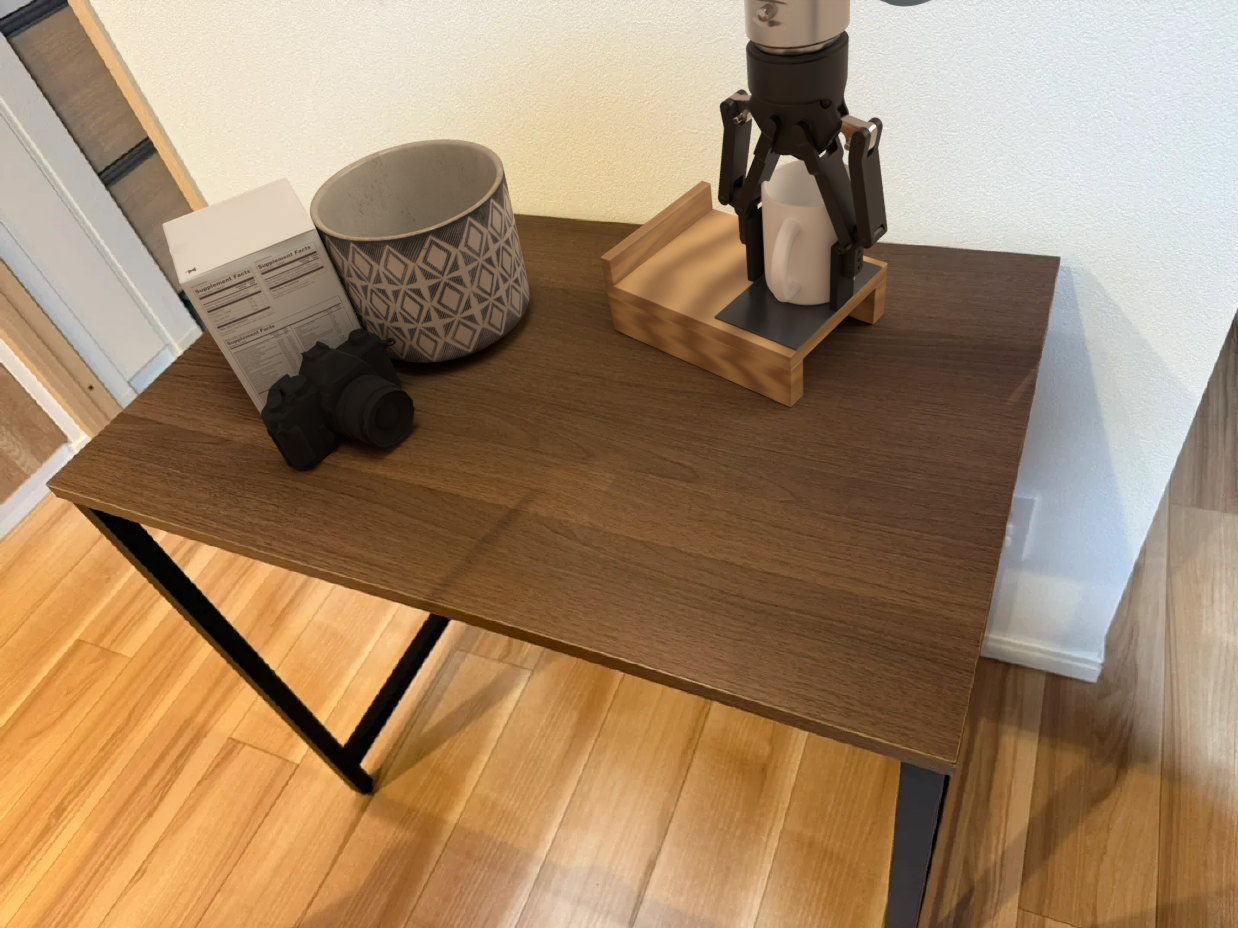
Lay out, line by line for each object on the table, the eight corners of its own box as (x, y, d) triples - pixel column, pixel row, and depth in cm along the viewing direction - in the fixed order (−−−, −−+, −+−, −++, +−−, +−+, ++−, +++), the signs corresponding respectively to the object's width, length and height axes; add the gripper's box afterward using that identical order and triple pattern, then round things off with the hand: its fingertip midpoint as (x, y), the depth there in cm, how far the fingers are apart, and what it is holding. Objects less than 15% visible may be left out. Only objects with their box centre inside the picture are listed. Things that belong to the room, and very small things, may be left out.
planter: (380, 400, 89) (319, 262, 77) (356, 302, 102) (301, 172, 90) (558, 342, 92) (525, 200, 80) (512, 254, 105) (478, 121, 93)
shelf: (883, 314, 86) (890, 235, 80) (791, 408, 79) (789, 329, 73) (708, 253, 98) (701, 180, 92) (614, 330, 91) (600, 257, 85)
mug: (820, 341, 76) (821, 238, 68) (733, 322, 79) (725, 222, 72) (868, 264, 82) (874, 162, 75) (786, 249, 86) (784, 151, 78)
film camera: (340, 499, 80) (300, 430, 74) (277, 463, 85) (234, 395, 79) (452, 399, 88) (424, 328, 81) (388, 371, 93) (357, 302, 86)
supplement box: (383, 371, 93) (317, 227, 80) (264, 424, 90) (176, 283, 77) (351, 312, 102) (286, 174, 89) (241, 358, 99) (158, 222, 86)
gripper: (656, 34, 69) (685, 275, 85) (899, 79, 57) (879, 348, 73) (714, -2, 72) (732, 237, 88) (956, 33, 60) (925, 301, 77)
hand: (799, 287), depth 81 cm, fingers closed on mug, 8 cm apart
